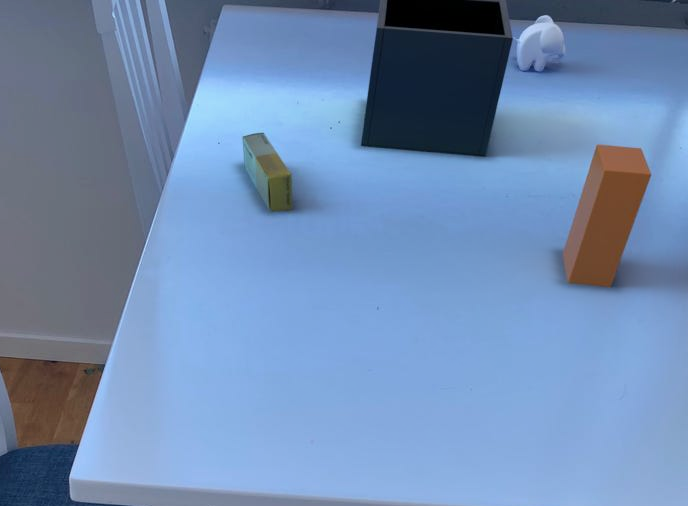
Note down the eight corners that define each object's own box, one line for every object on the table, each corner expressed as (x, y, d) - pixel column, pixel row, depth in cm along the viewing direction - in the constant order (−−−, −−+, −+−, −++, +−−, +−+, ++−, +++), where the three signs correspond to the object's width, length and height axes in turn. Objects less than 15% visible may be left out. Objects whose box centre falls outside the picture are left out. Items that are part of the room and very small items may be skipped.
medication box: (243, 172, 107) (241, 134, 104) (266, 168, 107) (264, 130, 104) (269, 215, 99) (267, 176, 96) (294, 211, 99) (293, 171, 96)
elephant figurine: (566, 78, 131) (579, 29, 127) (508, 75, 131) (519, 26, 127) (558, 62, 135) (571, 14, 131) (502, 59, 136) (513, 11, 131)
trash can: (479, 117, 120) (505, 0, 111) (484, 162, 110) (513, 38, 101) (365, 108, 121) (381, -9, 112) (359, 151, 112) (376, 27, 102)
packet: (601, 264, 94) (641, 147, 86) (608, 293, 90) (651, 174, 82) (560, 260, 94) (596, 144, 86) (566, 289, 90) (604, 170, 82)
